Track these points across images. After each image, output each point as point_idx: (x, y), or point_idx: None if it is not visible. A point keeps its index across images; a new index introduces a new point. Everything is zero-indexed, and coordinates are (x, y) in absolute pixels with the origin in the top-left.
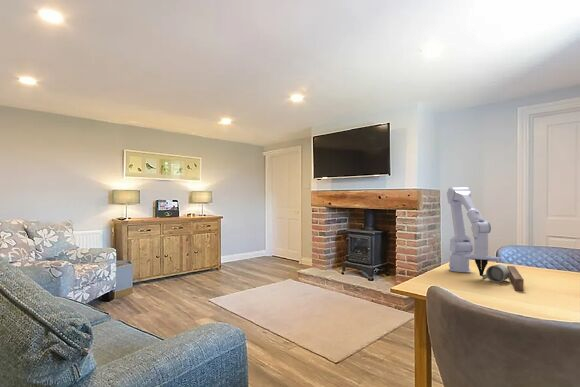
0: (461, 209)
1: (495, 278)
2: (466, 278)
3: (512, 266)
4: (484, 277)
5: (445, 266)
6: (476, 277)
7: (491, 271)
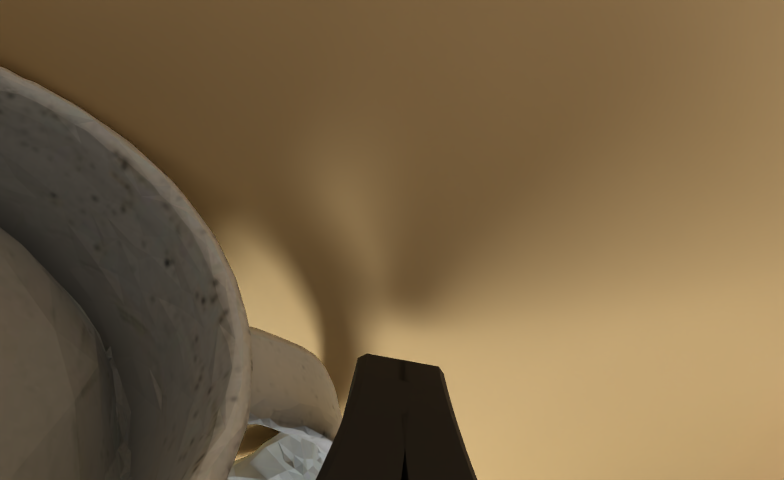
0: None
1: (10, 252)
2: (750, 355)
3: None
4: (308, 358)
5: None
6: None
7: None
